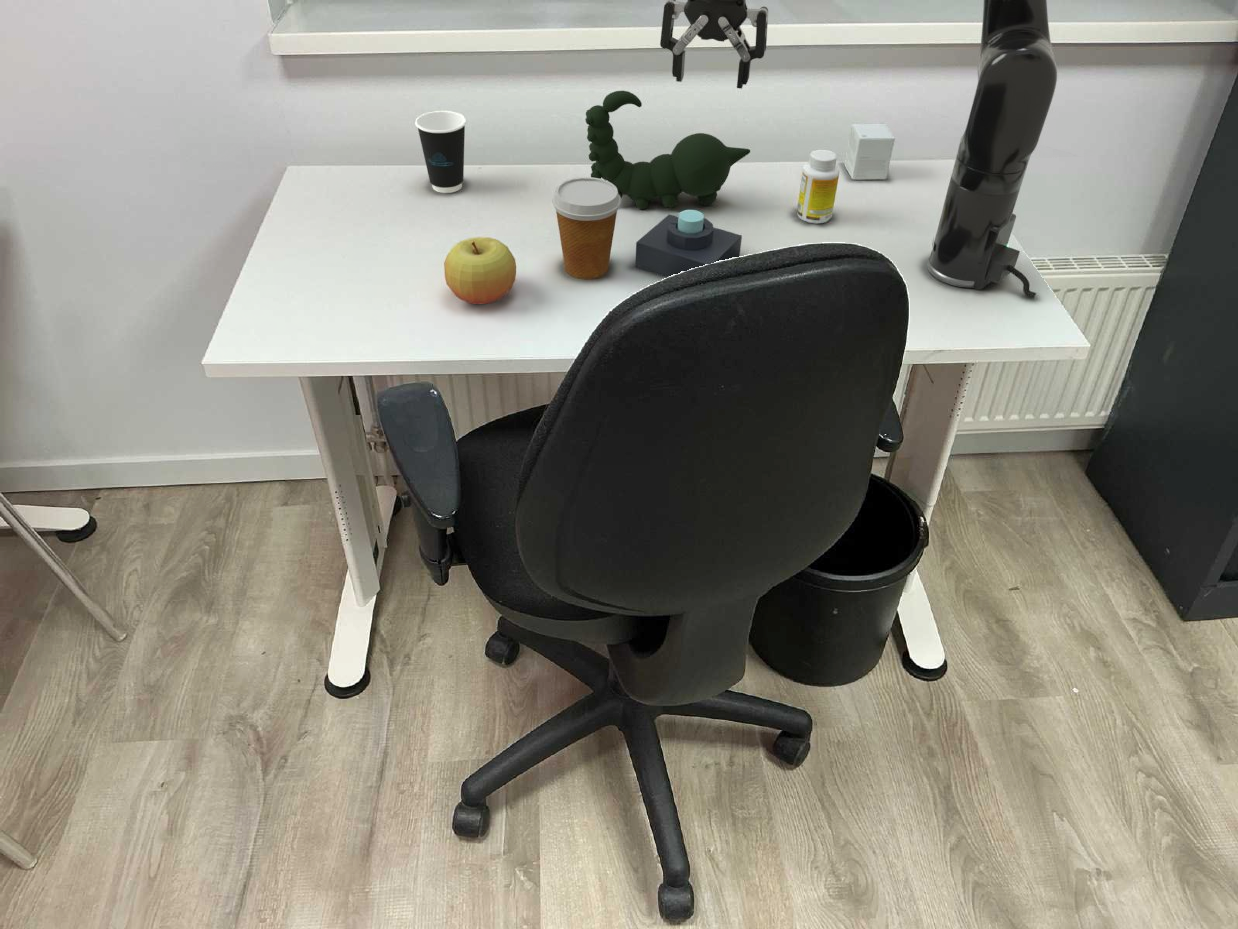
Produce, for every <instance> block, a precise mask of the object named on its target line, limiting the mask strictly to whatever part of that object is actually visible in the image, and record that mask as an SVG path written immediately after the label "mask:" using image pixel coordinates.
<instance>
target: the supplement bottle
mask: <svg viewBox="0 0 1238 929" xmlns="http://www.w3.org/2000/svg"><path fill="white" fill-rule="evenodd" d="M808 160H809V161H808V162H807V163H805V164H804V165H803V168H802V171H801V172H802V173H801V178H800V187H799V193H798V199H797V207H796V214H797V217H798V218H799V219H800V220H802V221H804V222H806V223H809V224H823V223H824V224H825V223H827V222H829V221H830V220H831V219H832V217H833V212H834V208H835V201H836V195H837V194H836V193H837V189H838V183H839V179H840V178H839V177H840V168H839V166H837V160H838V155H837V154H836V153H835V152H834V151H832V150H829V149H815V150H813V151H811V153H810V155H809V159H808Z"/></svg>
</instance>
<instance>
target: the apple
mask: <svg viewBox="0 0 1238 929" xmlns="http://www.w3.org/2000/svg"><path fill="white" fill-rule="evenodd" d="M443 267H444V268H443V270H444V279H445V283H446V286H447V287H448V288H449V290H450V291H451V292H452V293H453V294H454V296H455V297H457V298H458V299H459V300H461V301H464V302H466V303H467V304H473V305H487V304H491V303H495V302H497V301H498V300H500V299H502V298H504V297H505V296H506V294H508V292H510V290H511V289H512V288H513V286H514V284H515V282H516V276H517V262H516V258H515V256H514V255H513V253H512V251H511V250H510V248H509V247H508V245H506V244H505V243H503V242H502V241H500V240H499V239H496V238H492V237H485V236H484V237H483V236H478V237H477V236H476V237H470V238H468V239H467V238H466V239H464V240H461V241H459V242H457V243H455V245H453V246H452V248H451V249H450V250H449V252H448V253H447V255H446V257H445V259H444V263H443Z"/></svg>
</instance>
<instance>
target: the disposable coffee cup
mask: <svg viewBox="0 0 1238 929" xmlns="http://www.w3.org/2000/svg"><path fill="white" fill-rule="evenodd" d="M551 203H552V205H553V208H554V210H555V214H556V219H557V225H558V233H559V240H560V245H561V252H562V258H563V264H564V271H565V272H566V273H567V274H568V275H569V276H571V277H573V278H576V279H581V280H592V279H597V278H600V277H603V276H604V275H606V274H607V273H608V271H609V266H610V258H611V252H612V246H613V241H614V233H615V226H616V220H617V215H618V210H619V208H620V206H621V204H622V199H621V197H620V195H619V194H618V190H617V188H616V186H615V185H613V184H612V183H610V182H609V181H607V180H604V179H603V178H601V179H599V178H593V177H591V176H580V177H579V176H578V177H574V178H570V179H566V180H563V181H562V182H560V183H559V184H558V185H556V188H555V190H554V193H553V195H552V197H551Z"/></svg>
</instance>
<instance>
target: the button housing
mask: <svg viewBox="0 0 1238 929" xmlns="http://www.w3.org/2000/svg"><path fill="white" fill-rule="evenodd" d="M742 240H743V235H742V234H738V233H734V232H731V231H728V230H725V229H721V228H718V227H714V223H712V222H711V221H710V220H708V219H707V218H705V217H704V222H703V230H702V232H699V233H685V232H681V231H679V230H678V216H676V215H673V214H670V213H669V214H668V215H667V216H665V217H664V218H663V219H662V220H660V221H659V222H658V223H657V224H656V225H655V226H653V228H650V230H649V231H648V232H646V233H645V234H644V235H643V236H642V237H641V238H639V240H638V239H637V241H636V242H635V265H634V266H635V267H636V268H638V269H642V270H646V271H648V272H650V273H654V274H658V275H661V276H664V277H667V278H669V277H668V276H671V275H673V274H678V273H680V272H681V271H687V270H689V269H691V268H695V267H699V266H703V265H705V264H711V263H714V262H716V261H719V260H725V259H729V258H732V257H739V256H740V257H741V248H742ZM740 257H739V258H740Z"/></svg>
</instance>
